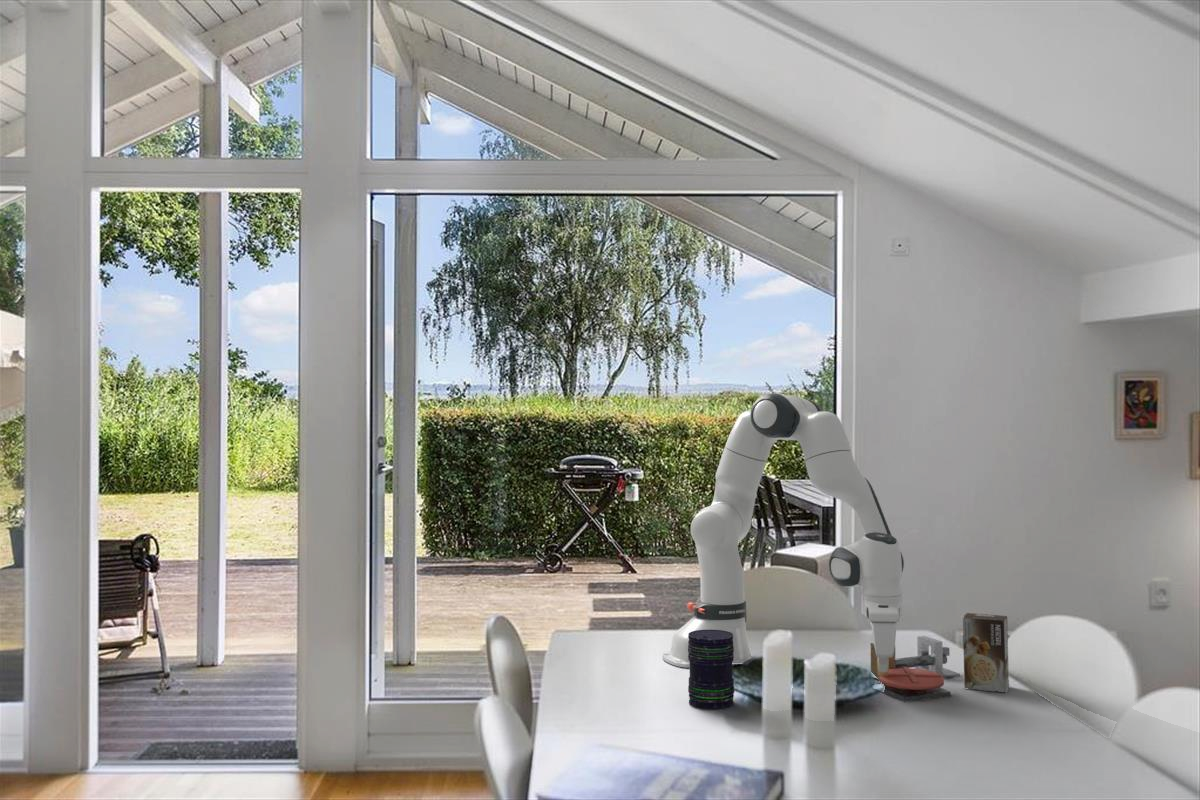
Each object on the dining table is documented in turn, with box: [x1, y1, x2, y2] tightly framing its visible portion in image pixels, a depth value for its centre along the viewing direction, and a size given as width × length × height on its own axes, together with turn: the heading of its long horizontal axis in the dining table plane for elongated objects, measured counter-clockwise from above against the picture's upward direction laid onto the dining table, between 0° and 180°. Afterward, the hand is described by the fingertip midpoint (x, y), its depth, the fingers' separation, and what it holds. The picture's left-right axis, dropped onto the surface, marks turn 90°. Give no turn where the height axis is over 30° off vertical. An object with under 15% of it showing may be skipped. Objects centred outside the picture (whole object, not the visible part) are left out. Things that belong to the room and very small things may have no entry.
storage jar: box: [687, 630, 735, 711], centre depth 234 cm, size 10×10×15 cm
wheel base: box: [883, 685, 952, 703], centre depth 242 cm, size 12×12×1 cm
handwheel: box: [877, 657, 945, 690], centre depth 242 cm, size 14×14×6 cm
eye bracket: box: [914, 635, 961, 679], centre depth 258 cm, size 6×9×8 cm, turn 20°
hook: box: [870, 642, 951, 678], centre depth 256 cm, size 20×4×8 cm, turn 110°
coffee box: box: [962, 612, 1010, 693], centre depth 245 cm, size 9×6×16 cm
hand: (882, 669), depth 242 cm, fingers open, 3 cm apart
